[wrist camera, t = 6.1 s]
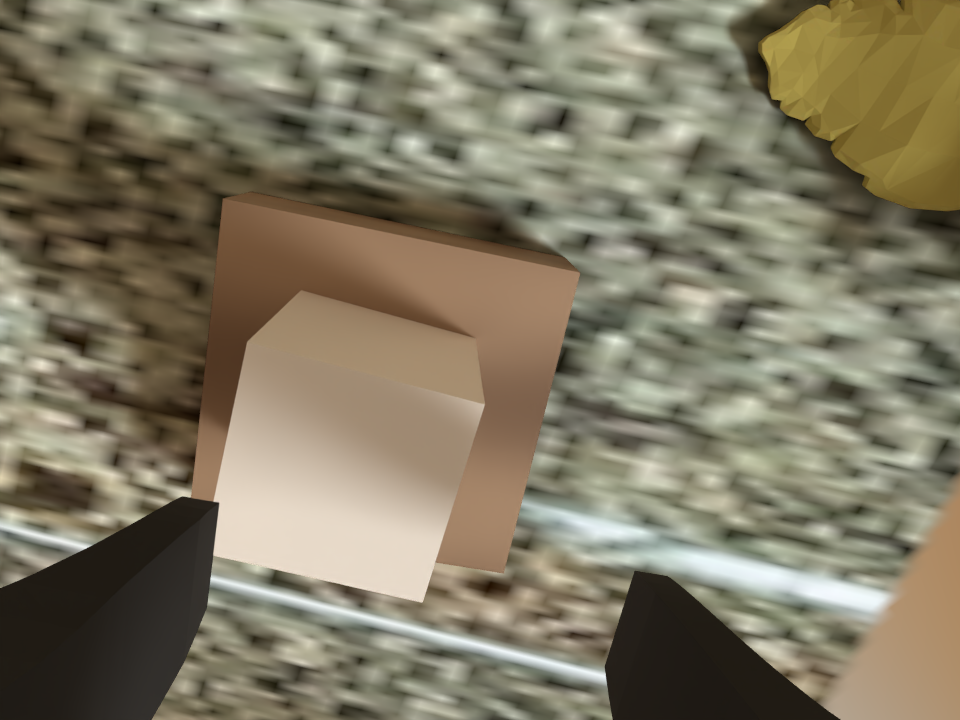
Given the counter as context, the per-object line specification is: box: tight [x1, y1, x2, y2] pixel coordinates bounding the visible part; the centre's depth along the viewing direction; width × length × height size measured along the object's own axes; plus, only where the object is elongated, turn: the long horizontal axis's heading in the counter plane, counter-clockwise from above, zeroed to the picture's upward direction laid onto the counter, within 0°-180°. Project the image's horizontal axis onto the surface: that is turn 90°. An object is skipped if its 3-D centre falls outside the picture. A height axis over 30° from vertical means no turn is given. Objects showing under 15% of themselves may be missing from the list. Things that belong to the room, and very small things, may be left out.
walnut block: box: [191, 192, 580, 573], centre depth 20 cm, size 9×9×3 cm
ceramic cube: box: [213, 290, 485, 603], centre depth 16 cm, size 5×5×5 cm
